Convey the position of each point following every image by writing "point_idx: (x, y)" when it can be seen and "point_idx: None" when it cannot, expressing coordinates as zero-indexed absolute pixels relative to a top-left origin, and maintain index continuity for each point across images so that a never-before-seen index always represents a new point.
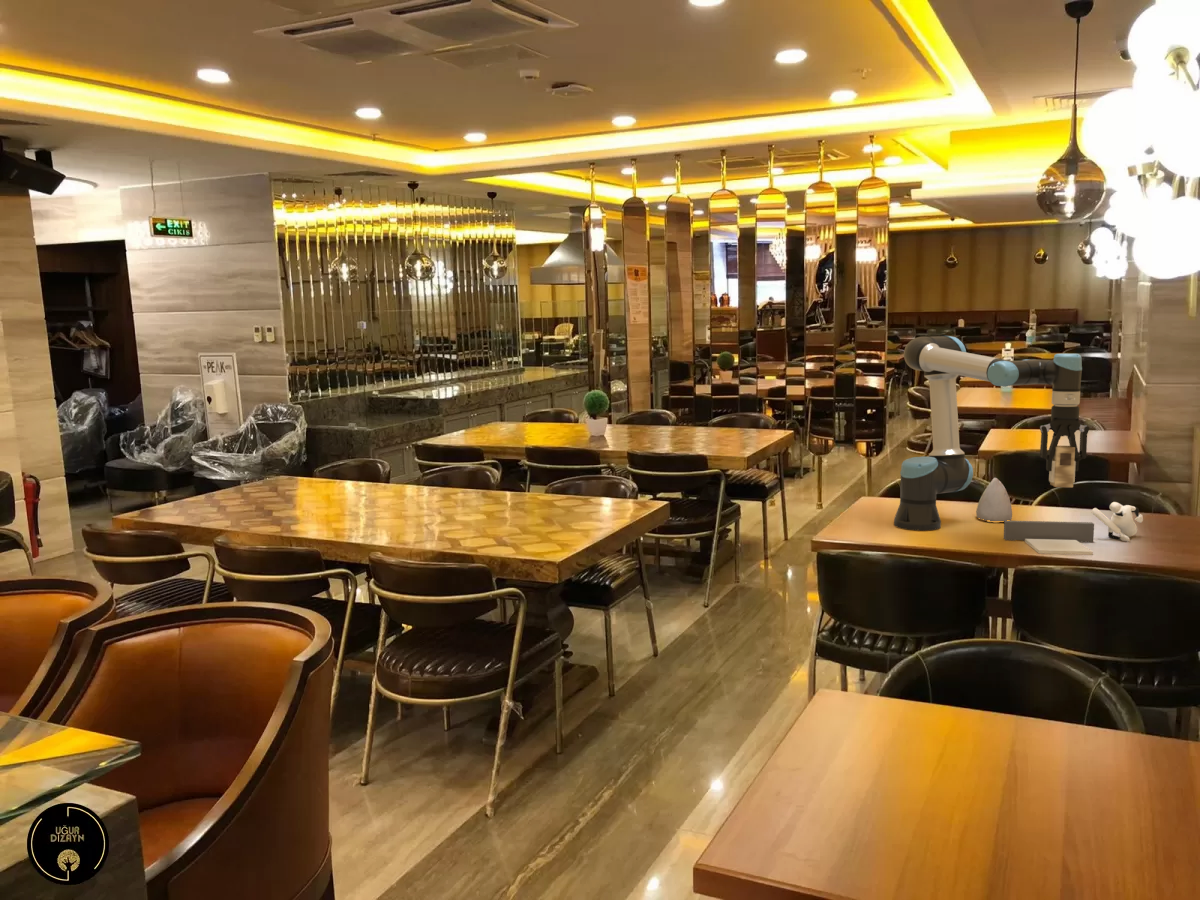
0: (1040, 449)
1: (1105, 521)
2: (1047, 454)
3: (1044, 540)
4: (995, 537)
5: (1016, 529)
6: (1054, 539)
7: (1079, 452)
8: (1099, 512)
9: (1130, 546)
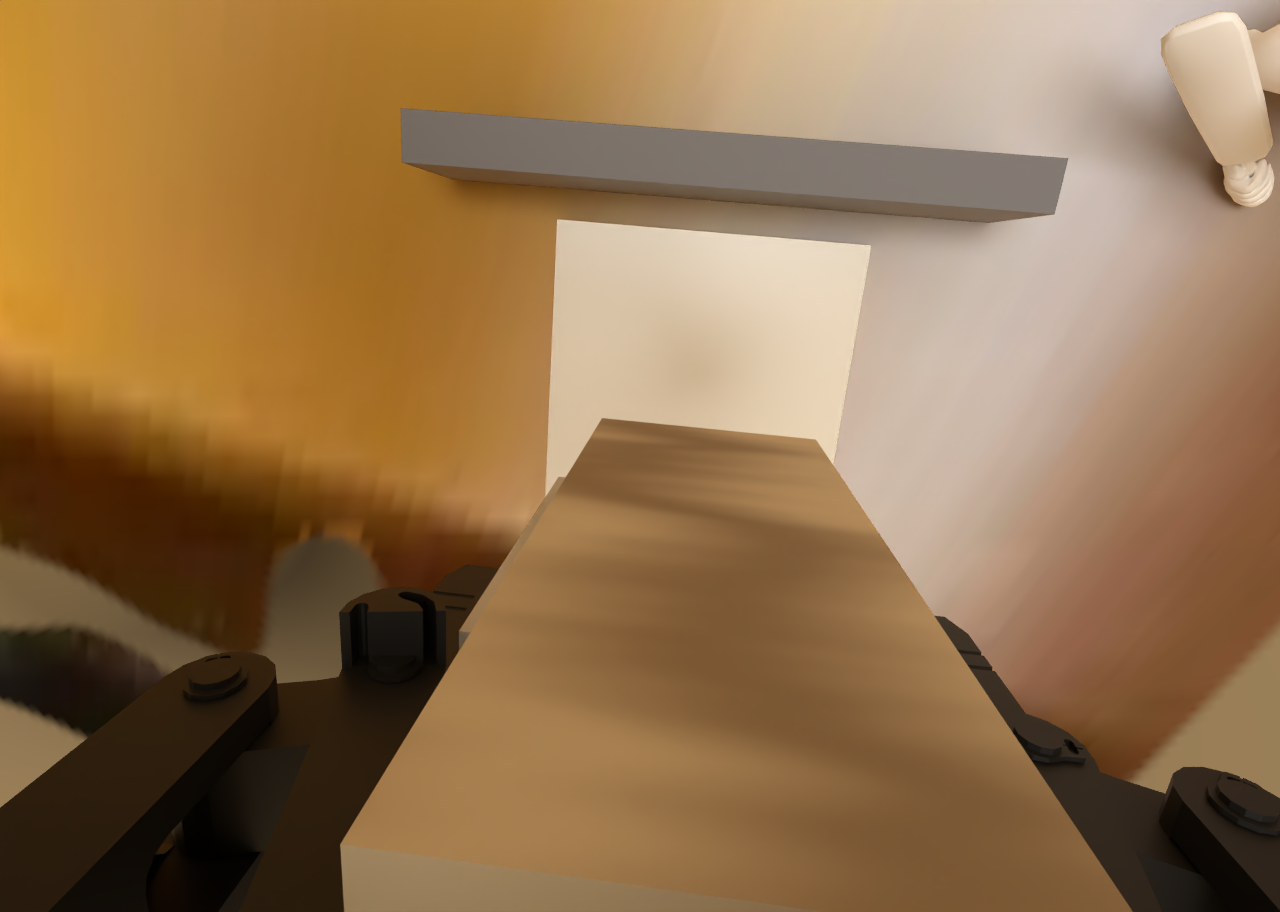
0: (6, 824)
1: (1208, 114)
2: (322, 747)
3: (661, 267)
4: (412, 90)
5: (496, 175)
6: (736, 235)
7: (1259, 898)
8: (1226, 62)
9: (1165, 326)
